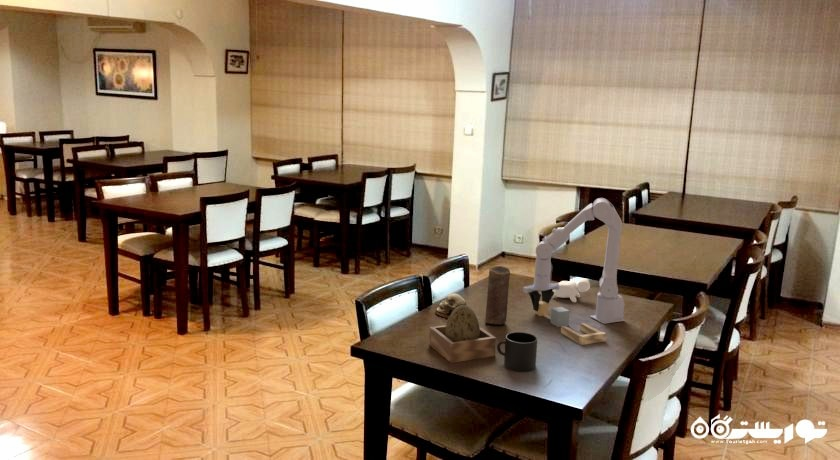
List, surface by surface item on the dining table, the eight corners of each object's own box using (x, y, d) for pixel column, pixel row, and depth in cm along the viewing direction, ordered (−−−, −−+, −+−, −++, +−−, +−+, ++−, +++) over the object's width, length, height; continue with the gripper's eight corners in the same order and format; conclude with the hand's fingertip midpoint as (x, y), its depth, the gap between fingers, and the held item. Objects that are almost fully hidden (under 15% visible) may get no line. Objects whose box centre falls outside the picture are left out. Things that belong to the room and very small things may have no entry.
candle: (508, 321, 249) (511, 267, 245) (504, 328, 243) (507, 272, 238) (487, 318, 252) (490, 264, 248) (482, 325, 245) (485, 270, 241)
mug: (500, 356, 218) (502, 328, 216) (538, 362, 214) (540, 334, 212) (491, 367, 210) (493, 338, 208) (531, 374, 205) (533, 345, 203)
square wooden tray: (471, 338, 232) (472, 321, 231) (495, 355, 218) (496, 337, 217) (429, 344, 226) (429, 327, 224) (450, 362, 212) (451, 344, 211)
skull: (430, 315, 251) (435, 289, 256) (436, 326, 260) (441, 301, 265) (463, 318, 248) (467, 291, 253) (468, 329, 256) (472, 304, 261)
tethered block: (544, 312, 261) (545, 298, 259) (568, 325, 247) (569, 310, 246) (533, 313, 259) (534, 299, 258) (557, 327, 245) (558, 312, 244)
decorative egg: (468, 359, 215) (470, 313, 211) (438, 351, 220) (439, 306, 217) (484, 348, 224) (486, 304, 220) (455, 341, 229) (456, 297, 226)
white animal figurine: (554, 307, 277) (591, 298, 270) (548, 286, 276) (584, 278, 270) (559, 301, 285) (595, 293, 278) (553, 281, 284) (589, 272, 277)
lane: (583, 329, 244) (584, 322, 243) (605, 341, 233) (606, 333, 233) (560, 333, 240) (561, 325, 239) (581, 345, 229) (582, 336, 229)
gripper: (552, 269, 263) (550, 304, 266) (519, 273, 257) (517, 308, 260) (563, 274, 256) (561, 310, 259) (530, 278, 251) (527, 314, 253)
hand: (539, 309), depth 259 cm, fingers closed on tethered block, 3 cm apart
